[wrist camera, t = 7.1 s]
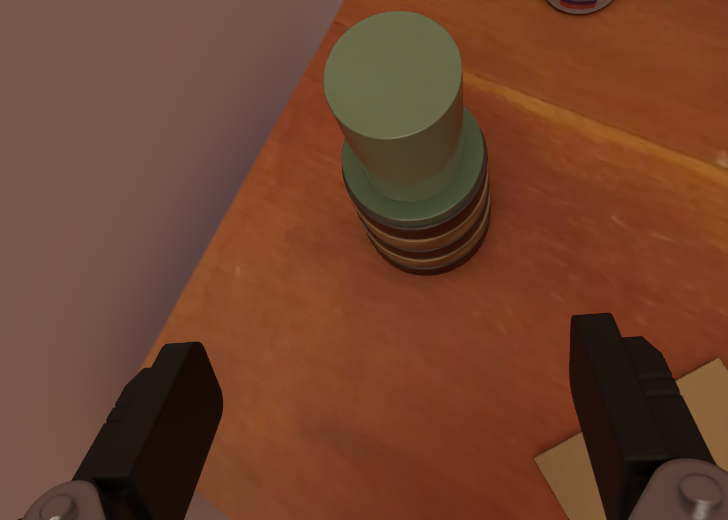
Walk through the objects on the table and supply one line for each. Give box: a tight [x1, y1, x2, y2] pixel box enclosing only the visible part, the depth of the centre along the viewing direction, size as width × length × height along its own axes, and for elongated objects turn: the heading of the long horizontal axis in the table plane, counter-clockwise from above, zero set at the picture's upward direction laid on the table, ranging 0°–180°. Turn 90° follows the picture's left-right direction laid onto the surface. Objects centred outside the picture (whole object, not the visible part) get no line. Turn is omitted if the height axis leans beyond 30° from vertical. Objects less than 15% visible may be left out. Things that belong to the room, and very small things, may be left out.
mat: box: [533, 358, 728, 520], centre depth 33 cm, size 12×12×1 cm
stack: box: [342, 129, 491, 275], centre depth 34 cm, size 8×8×10 cm
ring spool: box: [323, 11, 484, 226], centre depth 25 cm, size 7×7×8 cm
